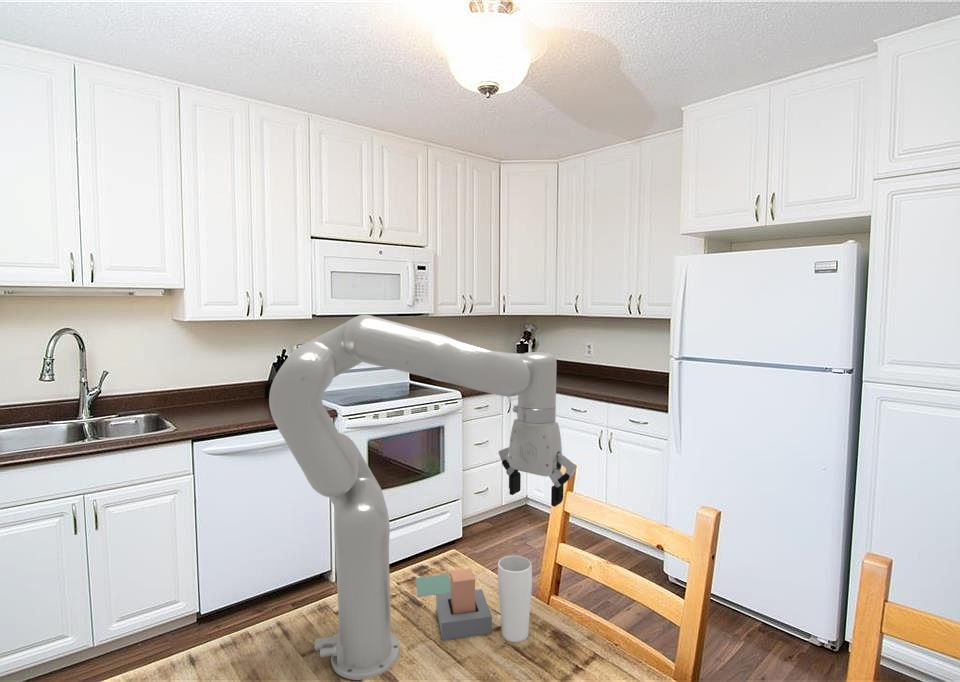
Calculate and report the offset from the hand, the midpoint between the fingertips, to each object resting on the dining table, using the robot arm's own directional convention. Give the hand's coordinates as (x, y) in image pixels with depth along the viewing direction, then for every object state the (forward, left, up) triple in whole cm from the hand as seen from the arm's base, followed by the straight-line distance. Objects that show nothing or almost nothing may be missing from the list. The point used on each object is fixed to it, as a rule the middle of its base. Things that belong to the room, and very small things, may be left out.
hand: (535, 498), depth 105 cm
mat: (-19, +19, -27) cm, 38 cm away
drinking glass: (-5, -2, -27) cm, 27 cm away
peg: (-15, +3, -26) cm, 30 cm away
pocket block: (-15, +3, -27) cm, 31 cm away
